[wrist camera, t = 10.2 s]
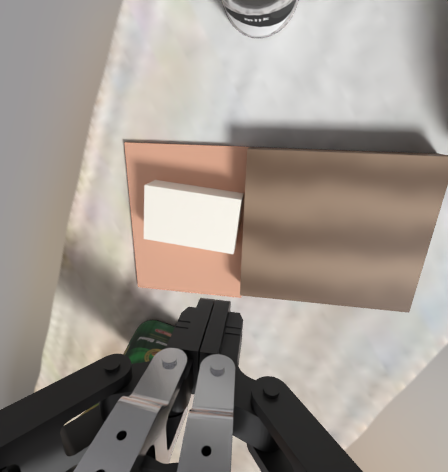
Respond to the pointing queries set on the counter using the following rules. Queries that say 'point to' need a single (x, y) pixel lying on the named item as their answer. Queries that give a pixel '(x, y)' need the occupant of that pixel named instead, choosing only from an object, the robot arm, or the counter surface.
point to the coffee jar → (147, 343)
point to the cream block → (192, 215)
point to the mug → (259, 15)
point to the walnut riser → (339, 224)
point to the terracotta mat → (177, 256)
